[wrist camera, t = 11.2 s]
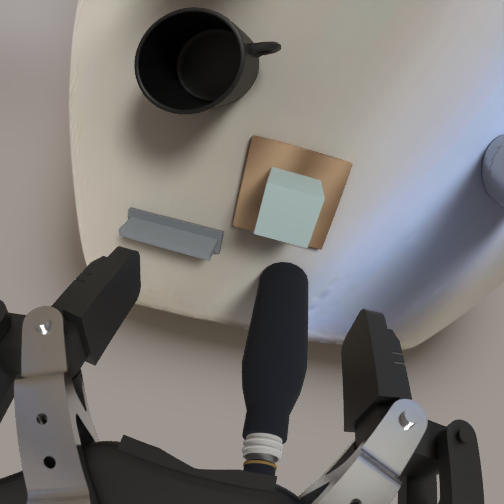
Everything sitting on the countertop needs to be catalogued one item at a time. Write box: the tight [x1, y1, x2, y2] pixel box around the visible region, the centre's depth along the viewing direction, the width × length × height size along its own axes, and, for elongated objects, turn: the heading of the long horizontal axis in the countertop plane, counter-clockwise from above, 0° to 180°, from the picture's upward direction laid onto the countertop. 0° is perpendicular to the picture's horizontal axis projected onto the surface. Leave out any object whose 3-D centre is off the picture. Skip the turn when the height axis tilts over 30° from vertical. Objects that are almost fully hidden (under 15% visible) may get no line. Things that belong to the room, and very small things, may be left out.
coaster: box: [233, 135, 352, 250], centre depth 34 cm, size 11×11×1 cm
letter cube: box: [254, 167, 325, 248], centre depth 31 cm, size 6×6×6 cm
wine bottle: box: [242, 262, 308, 476], centre depth 28 cm, size 6×6×30 cm
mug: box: [135, 7, 281, 114], centre depth 24 cm, size 9×12×9 cm
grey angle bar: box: [119, 208, 224, 261], centre depth 37 cm, size 13×3×4 cm, turn 77°
